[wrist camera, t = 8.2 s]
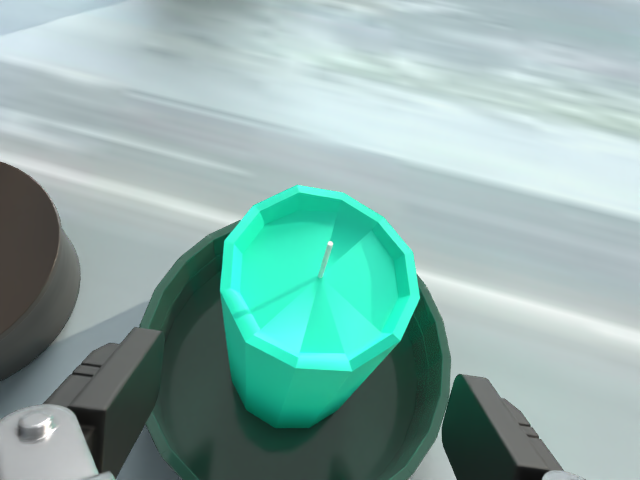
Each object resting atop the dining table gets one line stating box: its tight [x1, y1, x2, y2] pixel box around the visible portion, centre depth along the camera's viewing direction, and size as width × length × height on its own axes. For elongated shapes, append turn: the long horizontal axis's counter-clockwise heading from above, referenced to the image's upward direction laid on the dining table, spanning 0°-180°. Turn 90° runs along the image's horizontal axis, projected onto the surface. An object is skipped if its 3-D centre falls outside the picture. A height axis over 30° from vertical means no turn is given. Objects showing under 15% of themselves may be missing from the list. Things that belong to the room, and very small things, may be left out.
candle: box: [220, 185, 420, 428], centre depth 17 cm, size 6×6×12 cm
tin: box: [139, 220, 451, 480], centre depth 21 cm, size 13×13×4 cm
